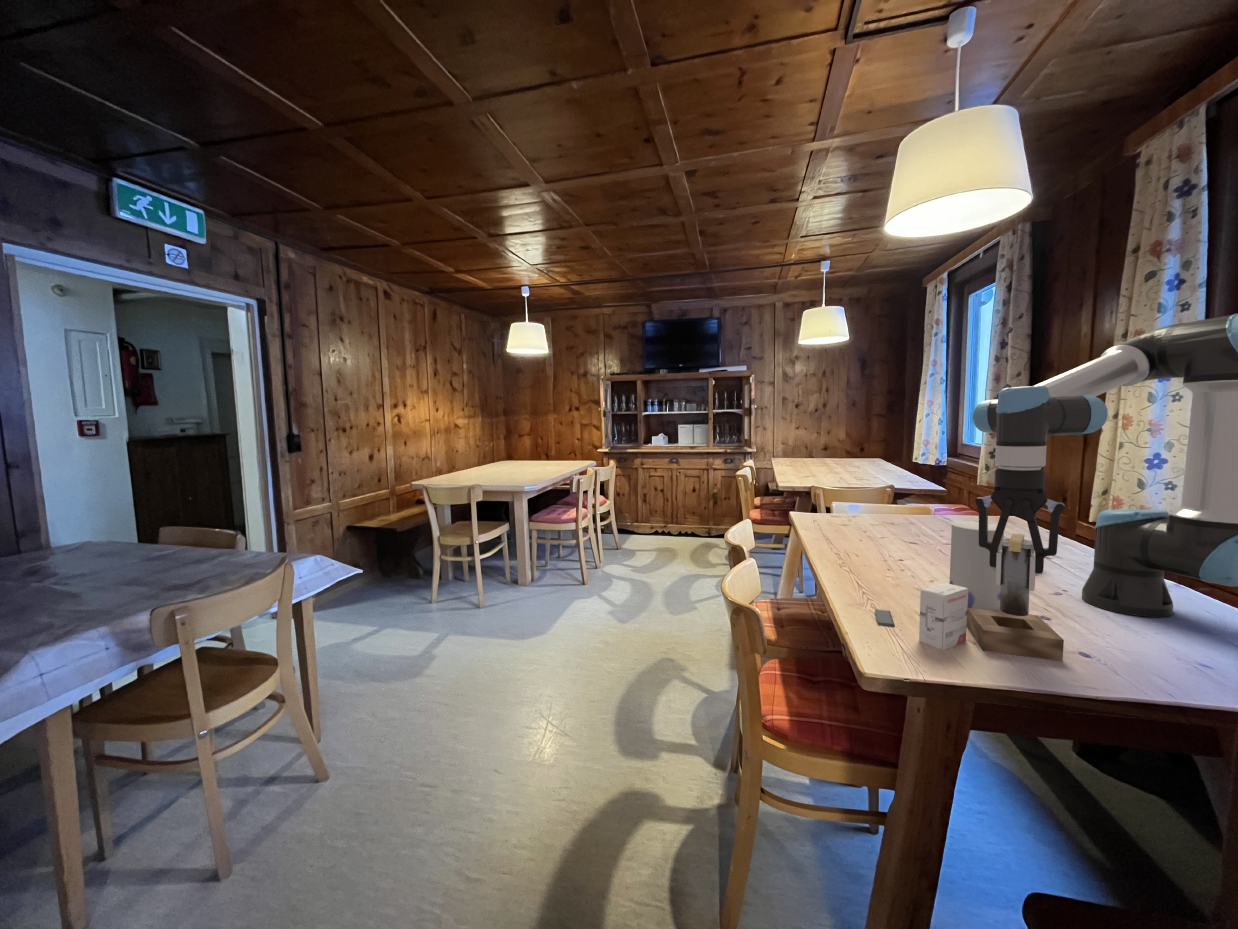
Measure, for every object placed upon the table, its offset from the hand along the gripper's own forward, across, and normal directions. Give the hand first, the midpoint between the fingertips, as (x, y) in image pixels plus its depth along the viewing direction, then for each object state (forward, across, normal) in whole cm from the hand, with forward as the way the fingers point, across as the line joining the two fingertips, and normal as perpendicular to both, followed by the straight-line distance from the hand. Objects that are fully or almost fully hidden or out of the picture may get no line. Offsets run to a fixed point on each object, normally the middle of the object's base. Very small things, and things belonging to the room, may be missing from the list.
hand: (1015, 585), depth 96 cm
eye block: (+12, 0, 0) cm, 12 cm away
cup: (+13, +4, -62) cm, 64 cm away
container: (+13, +9, -20) cm, 25 cm away
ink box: (+12, +10, +8) cm, 18 cm away
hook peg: (+5, 0, 0) cm, 5 cm away
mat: (+12, +21, 0) cm, 24 cm away
